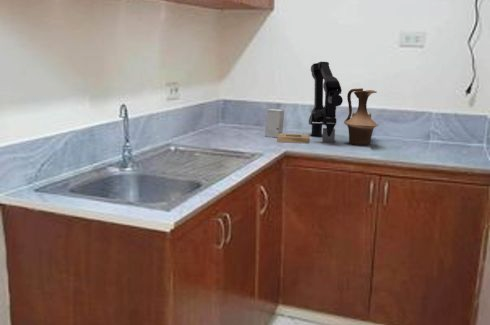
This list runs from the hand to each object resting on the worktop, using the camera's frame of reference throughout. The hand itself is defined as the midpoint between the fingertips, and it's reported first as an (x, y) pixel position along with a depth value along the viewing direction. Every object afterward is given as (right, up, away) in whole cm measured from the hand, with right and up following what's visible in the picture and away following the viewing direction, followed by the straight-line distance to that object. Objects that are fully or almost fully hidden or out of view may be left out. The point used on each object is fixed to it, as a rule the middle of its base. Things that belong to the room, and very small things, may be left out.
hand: (328, 135), depth 258 cm
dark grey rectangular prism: (0, -4, +1) cm, 4 cm away
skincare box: (-27, 0, +16) cm, 32 cm away
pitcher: (+15, -5, -2) cm, 16 cm away
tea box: (+18, -2, +10) cm, 21 cm away
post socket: (-18, -3, +3) cm, 18 cm away
